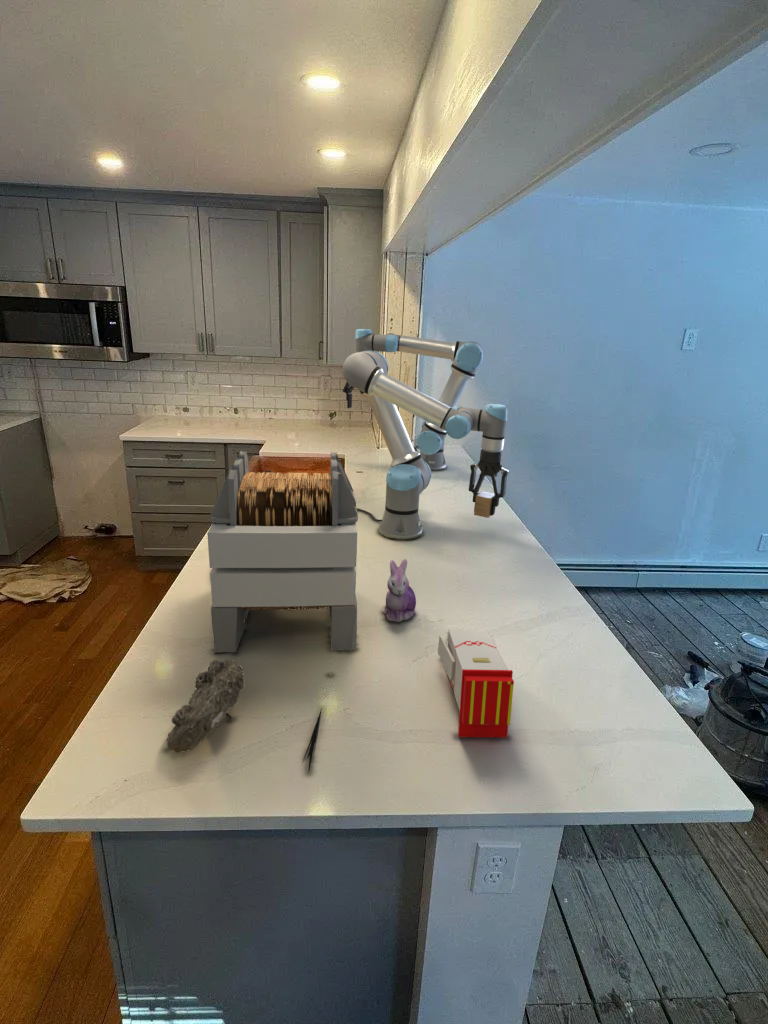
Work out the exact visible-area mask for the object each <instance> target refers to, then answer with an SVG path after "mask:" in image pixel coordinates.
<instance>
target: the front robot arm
mask: <svg viewBox="0 0 768 1024" xmlns="http://www.w3.org/2000/svg"><path fill="white" fill-rule="evenodd" d="M342 375H343V378H344V380H345V381H346V382H348V383H349V384H350V386H353V387H354V389H356V390H359V393H360V395H361V396H363V397H365V398H366V399H367V401H368V404H369V407H370V408H372V411H373V412H372V413H373V416H374V418H375V420H376V423H377V425H378V428H379V430H380V433H381V434H382V438H383V440H384V442H385V445H386V447H387V450H388V451H389V454H390V457H391V458H392V460H391V463H390V468H389V469H388V470H387V471H386V472H387V473H386V476H385V483H386V484H385V504H384V505H385V507H384V508H385V509H384V513H383V515H382V519H378V518H376V517H375V515H374V514H373V513H371V512H369V511H367V510H364V509H361V508H358V507H356V508H357V512H362V513H364V514H367V515H369V516H370V517H371V519H372V520H373V521H375V522H378V523H379V525H378V533H379V534H380V535H381V536H382V537H385V538H387V539H389V540H395V541H410V540H415V539H418V538H420V537H421V536H422V535H423V525H422V520H421V518H420V515H419V507H420V506H419V505H420V496H421V494H422V493H423V492H424V490H426V489H427V488H428V486H429V484H430V482H431V480H432V470H430V467H429V465H428V464H427V463H426V462H425V461H423V459H422V457H421V454H420V453H419V452H420V451H418V450H417V451H418V452H417V451H415V447H414V446H413V443H412V441H411V439H410V436H409V433H408V431H407V428H406V426H405V424H404V421H403V419H402V416H401V414H400V411H399V409H398V408H400V409H402V410H404V411H406V412H408V413H410V414H412V415H414V416H416V417H417V418H419V419H422V420H423V421H427V422H429V423H431V424H433V425H435V426H437V427H439V428H441V429H442V430H444V431H446V432H447V436H448V437H449V438H451V439H454V440H460V439H462V438H465V437H466V436H468V434H470V432H482V437H481V444H480V448H481V449H480V452H479V461H478V462H477V463H472V464H470V466H469V467H470V476H469V484H468V492H471V493H472V495H473V496H472V503H475V501H476V495H478V494H479V493H480V489H481V486H482V484H483V481H484V479H485V477H487V476H488V477H490V478H491V481H492V482H491V483H492V487H493V488H492V489H493V493H494V495H495V496H494V497H493V498H492V506H491V514H490V515H491V516H494V515H495V513H496V508H497V507H499V503H500V499H501V498H502V499H503V498H504V497H505V496H506V490H507V482H508V481H507V480H508V476H509V475H508V474H509V473H510V469H508V468H507V469H506V468H504V467H503V465H502V461H503V454H504V453H503V450H504V445H505V435H506V430H507V422H508V407H507V406H506V405H504V404H500V403H488V404H486V405H485V408H482V409H481V408H480V409H479V408H472V407H471V408H470V407H463V406H456V407H452V408H451V407H449V406H447V405H445V404H443V403H441V402H439V400H437V399H435V398H434V397H432V396H430V395H428V394H426V393H424V392H421V391H420V390H418V389H416V388H414V387H412V386H410V385H408V384H406V383H405V382H402V381H400V380H398V379H397V378H395V377H392V376H391V375H389V362H388V360H387V358H386V357H385V356H384V355H383V354H382V353H381V352H379V351H372V350H366V351H363V352H357V353H355V352H353V353H351V354H349V355H348V356H347V357H346V359H345V360H344V361H343V364H342ZM478 469H479V470H480V474H479V476H478V480H477V482H476V478H477V477H476V476H477V471H478ZM264 472H265V473H267V472H272V471H271V470H268V469H267V470H265V471H264ZM500 472H501V473H500ZM499 473H500V474H501V478H500V479H501V480H500V486H499V480H498V477H499ZM473 507H474V508H473V511H474V510H475V505H473ZM491 516H490V517H491Z"/></svg>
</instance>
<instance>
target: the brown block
mask: <svg viewBox="0 0 768 1024" xmlns="http://www.w3.org/2000/svg"><path fill="white" fill-rule="evenodd" d="M478 493H479V494H478V495H476V501H475V502H474V506H475V510H474V509H473V516H477V517H482V518H486V519H489V518H490V517H491V515H490V514H491V506H492V498H493V497H494V496H495V495H494V492H490V491H484V490H481V491H479V492H478Z"/></svg>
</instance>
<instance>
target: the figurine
mask: <svg viewBox="0 0 768 1024" xmlns="http://www.w3.org/2000/svg"><path fill="white" fill-rule="evenodd" d="M407 567H408V559H406V558H404V559H403V560H402V561H401V563H400V565H399V566H398V565H397V563H396V562H395V561H394V560H393V559H391V560H390V561H389V570H390V576H389V578H388V579H387V589H388V591H387V592H386V594H385V595H386V596H385V607H384V615H385V616H386V620H387V621H391V622H395V623H400V622H402V621H406V620H409V619H410V618H411V617H413V616H414V615H415V610H416V606H417V597H416V593H415V591H414V590H413V587H411V586H410V582H409V579H408V577H407V574H406V571H407Z"/></svg>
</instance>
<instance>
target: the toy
mask: <svg viewBox="0 0 768 1024" xmlns="http://www.w3.org/2000/svg"><path fill="white" fill-rule="evenodd" d="M446 640H447V643H446V641H445V639H444V636H443V635H442V634H439V637H438V646H437V656H438V657H439V659H440V661H441V663H442V666H443V668H444V670H445V672H446V674H447V677H448V679H449V681H450V684H451V687H452V690H453V693H454V697H455V701H456V705H457V708H458V711H459V714H458V715H459V716H458V730H457V731H458V732H457V737H458V738H508V731H509V726H510V725H511V717H512V707H513V697H514V696H513V695H514V684H515V680H514V679H513V673H514V671H513V670H512V669H508V667H507V665H506V662H505V661H504V659H503V658H502V655H501V653H500V651H499V649H498V647H497V643H496V639H495V637H494V635H493V634H491V632H490V631H489V629H467V628H466V629H465V628H463V629H461V628H460V629H459V628H448V630H447V639H446Z"/></svg>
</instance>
